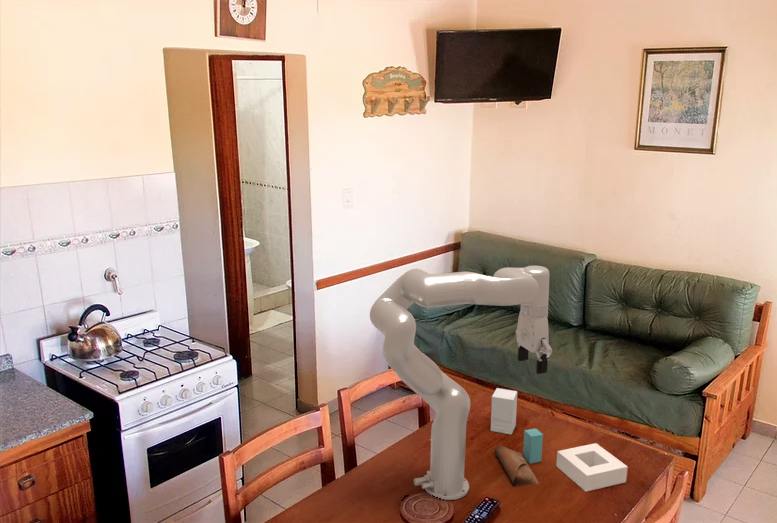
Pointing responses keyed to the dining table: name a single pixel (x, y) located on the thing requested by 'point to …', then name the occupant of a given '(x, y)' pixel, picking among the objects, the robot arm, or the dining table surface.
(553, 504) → the dining table surface
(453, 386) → the robot arm
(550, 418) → the dining table surface
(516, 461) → the sunglasses case
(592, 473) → the well block
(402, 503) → the dining table surface
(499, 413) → the supplement box
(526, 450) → the teal post
